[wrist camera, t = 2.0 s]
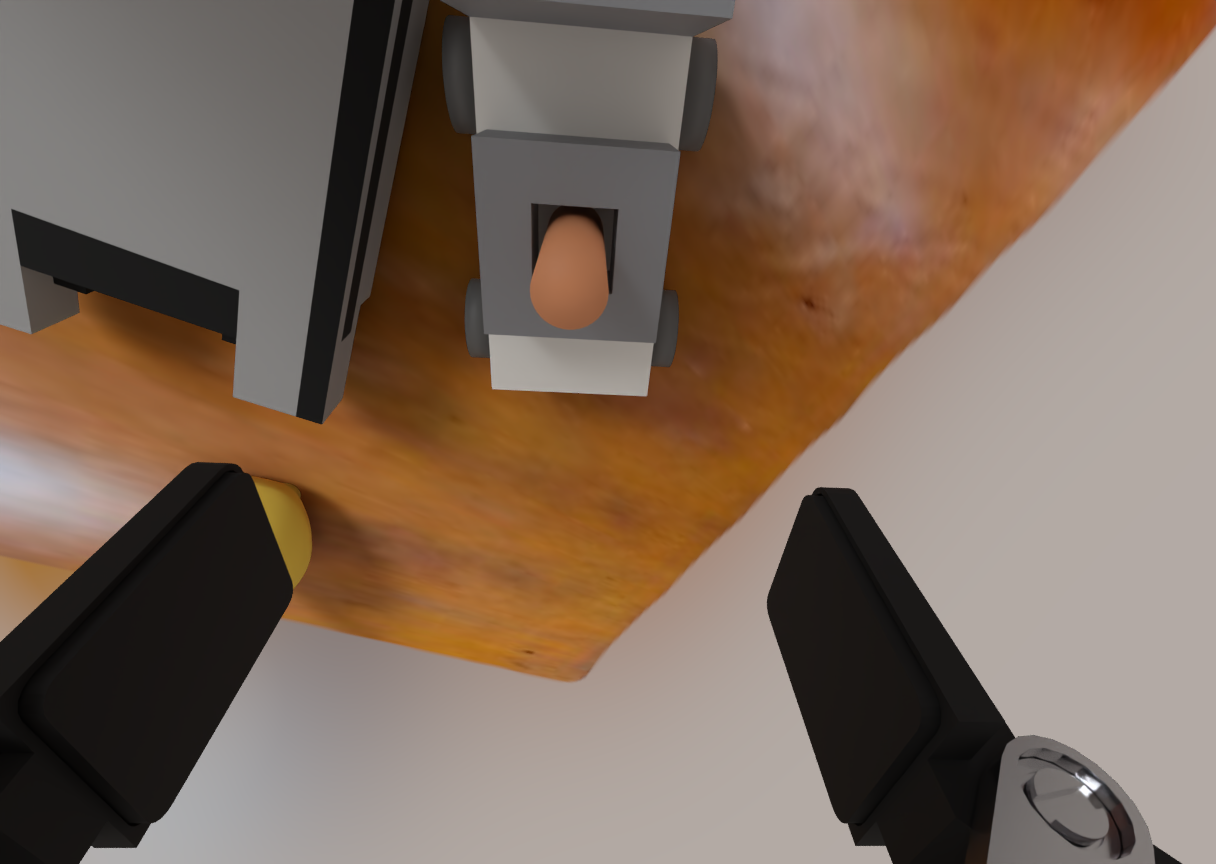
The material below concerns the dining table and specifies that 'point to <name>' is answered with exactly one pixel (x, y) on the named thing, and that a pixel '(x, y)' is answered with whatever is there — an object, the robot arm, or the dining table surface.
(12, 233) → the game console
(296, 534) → the teapot
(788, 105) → the dining table surface
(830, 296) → the dining table surface
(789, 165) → the dining table surface
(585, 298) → the pin
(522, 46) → the ramp trolley
